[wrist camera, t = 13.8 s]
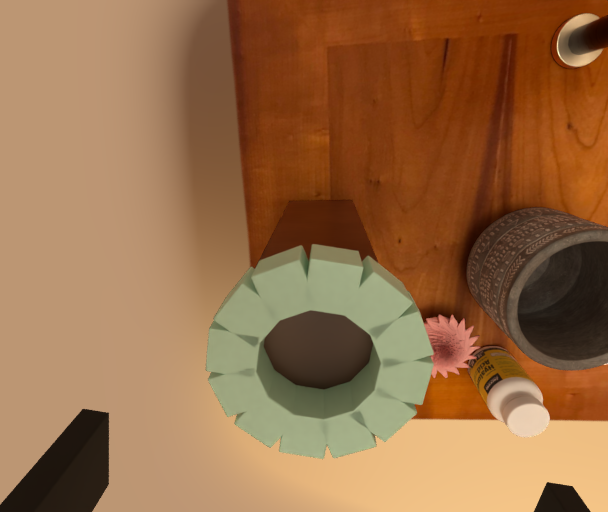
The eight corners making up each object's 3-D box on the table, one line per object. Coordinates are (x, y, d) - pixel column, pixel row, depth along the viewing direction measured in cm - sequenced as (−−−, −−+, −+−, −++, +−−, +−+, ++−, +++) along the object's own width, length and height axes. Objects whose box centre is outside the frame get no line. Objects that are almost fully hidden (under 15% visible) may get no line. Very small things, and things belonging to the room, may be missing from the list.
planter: (473, 321, 46) (527, 390, 34) (440, 227, 43) (487, 265, 30) (581, 284, 44) (680, 342, 32) (555, 182, 41) (654, 203, 28)
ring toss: (540, 47, 37) (584, 30, 31) (578, 5, 36) (631, -22, 30) (572, 78, 38) (621, 68, 32) (610, 38, 37) (668, 19, 30)
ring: (182, 351, 21) (164, 378, 19) (302, 202, 18) (299, 212, 16) (331, 454, 23) (332, 490, 20) (462, 330, 20) (480, 356, 18)
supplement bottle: (474, 340, 46) (511, 392, 37) (519, 348, 46) (568, 403, 37) (460, 378, 48) (492, 438, 39) (503, 387, 48) (546, 448, 39)
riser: (291, 260, 45) (257, 395, 22) (289, 200, 43) (248, 279, 20) (351, 260, 44) (381, 396, 21) (352, 199, 42) (385, 278, 19)
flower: (466, 360, 47) (483, 389, 42) (398, 361, 48) (407, 389, 42) (472, 300, 45) (491, 322, 40) (401, 300, 45) (411, 322, 40)
